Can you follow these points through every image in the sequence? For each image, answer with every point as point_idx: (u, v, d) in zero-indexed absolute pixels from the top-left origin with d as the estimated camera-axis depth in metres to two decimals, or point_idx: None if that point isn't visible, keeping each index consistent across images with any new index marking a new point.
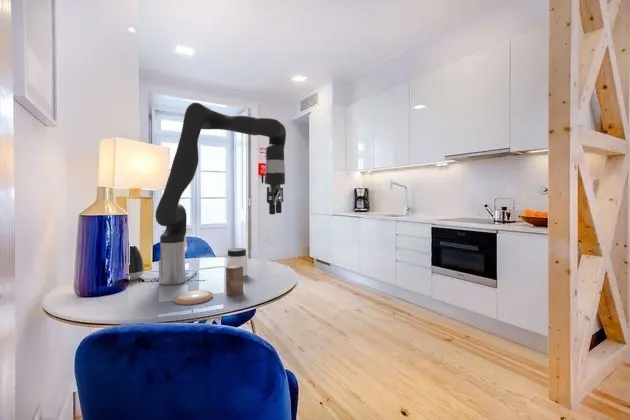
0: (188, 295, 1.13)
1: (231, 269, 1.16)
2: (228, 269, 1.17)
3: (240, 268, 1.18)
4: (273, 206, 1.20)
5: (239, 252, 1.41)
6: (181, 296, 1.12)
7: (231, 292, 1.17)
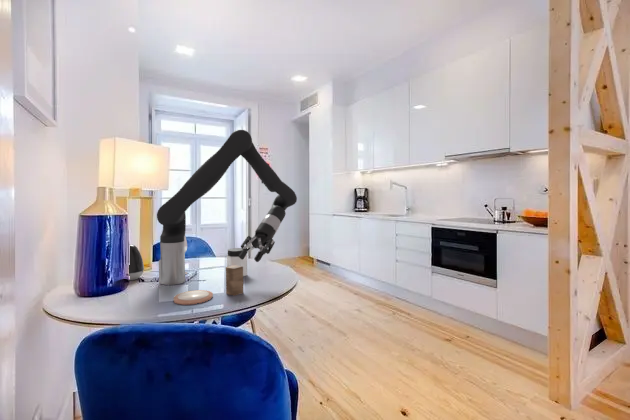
0: (188, 295, 1.13)
1: (231, 269, 1.16)
2: (228, 269, 1.17)
3: (240, 268, 1.18)
4: (262, 255, 1.23)
5: (239, 252, 1.41)
6: (181, 296, 1.12)
7: (231, 292, 1.17)
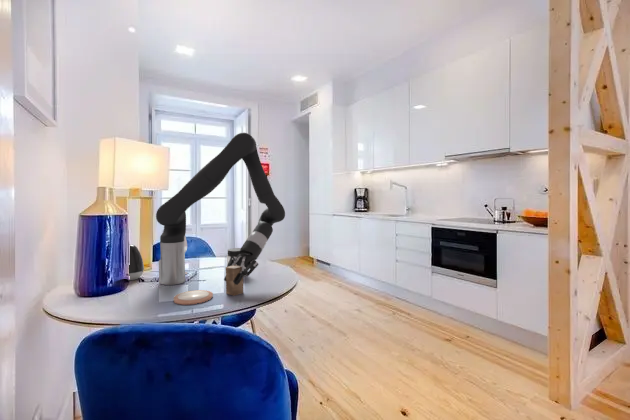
0: (188, 295, 1.13)
1: (231, 269, 1.16)
2: (228, 269, 1.17)
3: (240, 268, 1.18)
4: (241, 277, 1.17)
5: (239, 252, 1.41)
6: (181, 296, 1.12)
7: (231, 292, 1.17)
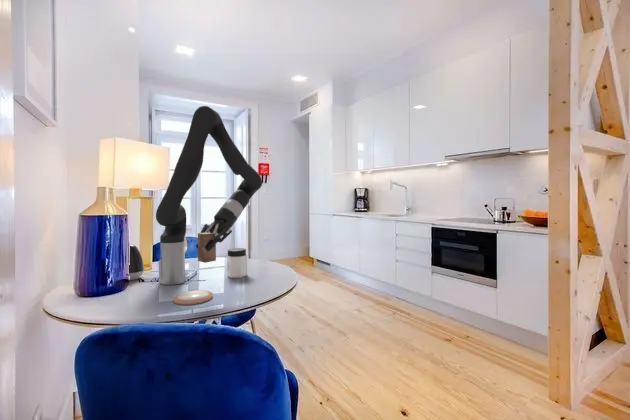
0: (188, 295, 1.13)
1: (203, 235, 1.12)
2: (200, 235, 1.13)
3: (213, 234, 1.14)
4: None
5: (239, 252, 1.41)
6: (181, 296, 1.12)
7: (202, 259, 1.12)
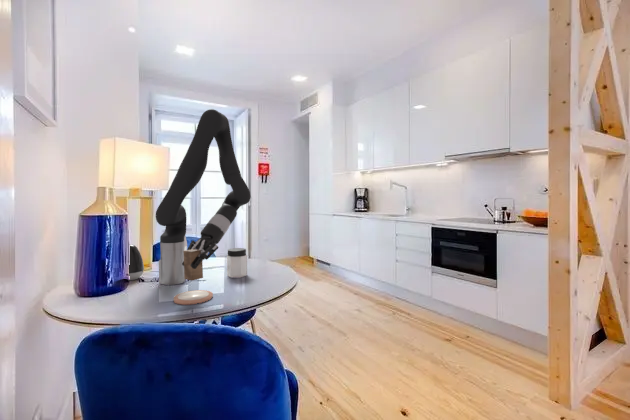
0: (188, 295, 1.13)
1: (188, 252, 1.10)
2: (185, 252, 1.11)
3: (198, 251, 1.12)
4: (200, 261, 1.11)
5: (239, 252, 1.41)
6: (181, 296, 1.12)
7: (189, 277, 1.10)
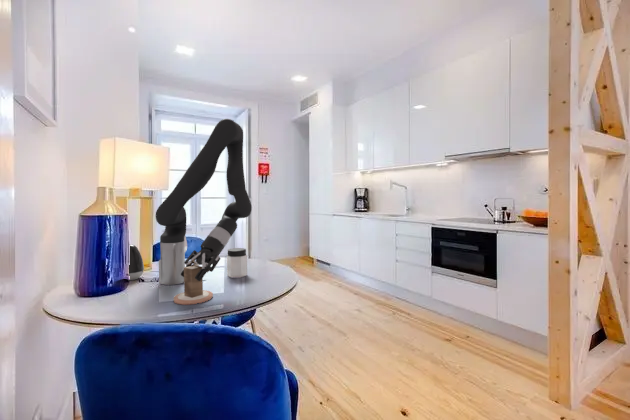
0: None
1: (189, 269, 1.10)
2: (186, 269, 1.11)
3: (199, 268, 1.12)
4: (204, 273, 1.11)
5: (239, 252, 1.41)
6: (181, 296, 1.12)
7: (189, 294, 1.11)
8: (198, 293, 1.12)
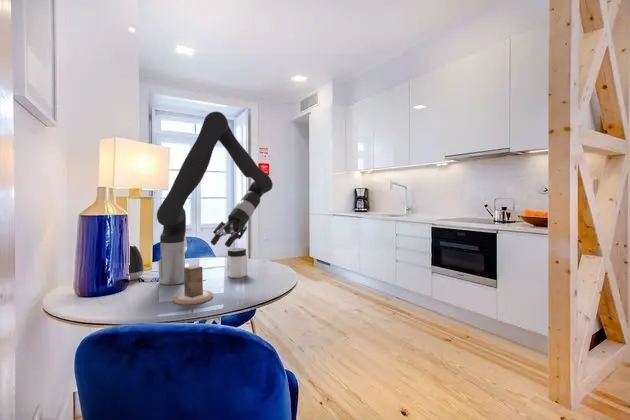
0: None
1: (189, 269, 1.10)
2: (186, 269, 1.11)
3: (199, 268, 1.12)
4: (233, 240, 1.21)
5: (239, 252, 1.41)
6: (181, 296, 1.12)
7: (189, 294, 1.11)
8: (198, 293, 1.12)
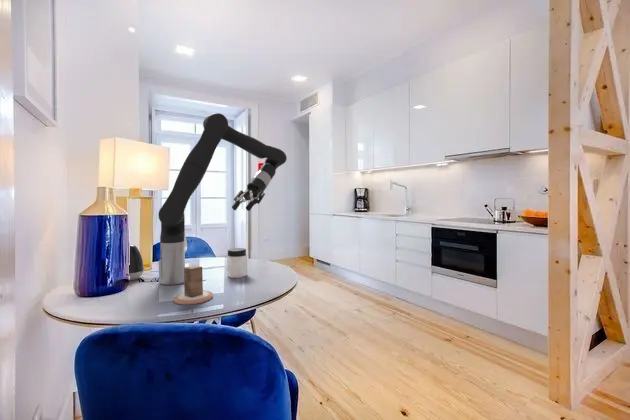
0: None
1: (189, 269, 1.10)
2: (186, 269, 1.11)
3: (199, 268, 1.12)
4: None
5: (239, 252, 1.41)
6: (181, 296, 1.12)
7: (189, 294, 1.11)
8: (198, 293, 1.12)
